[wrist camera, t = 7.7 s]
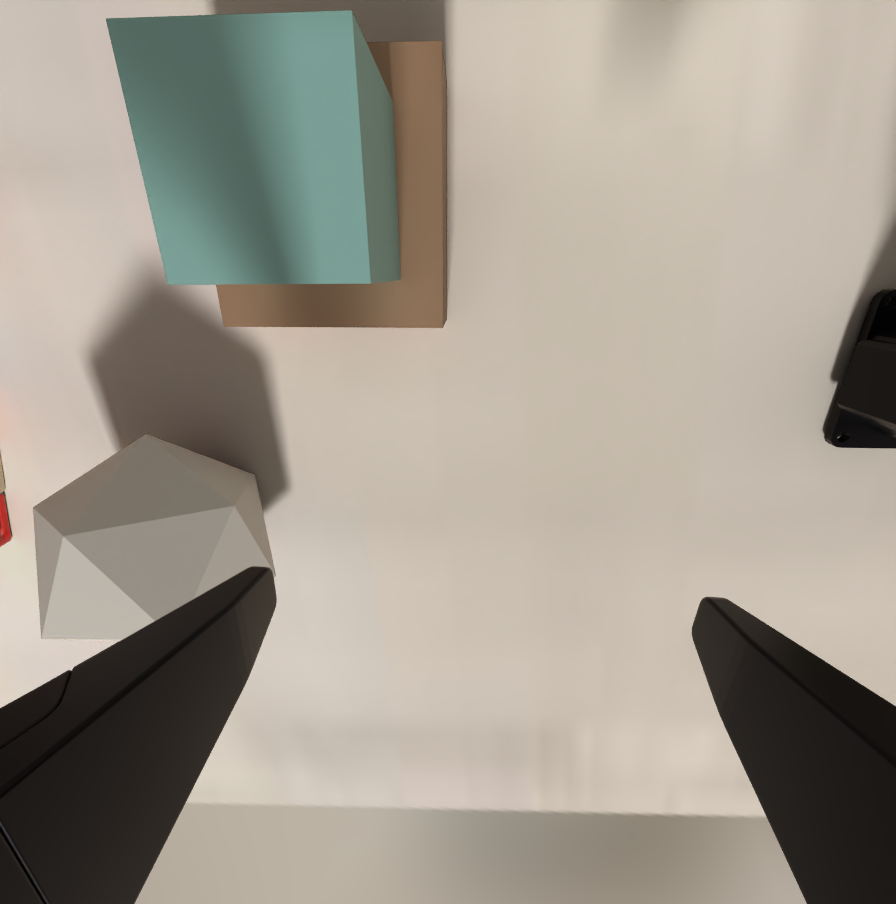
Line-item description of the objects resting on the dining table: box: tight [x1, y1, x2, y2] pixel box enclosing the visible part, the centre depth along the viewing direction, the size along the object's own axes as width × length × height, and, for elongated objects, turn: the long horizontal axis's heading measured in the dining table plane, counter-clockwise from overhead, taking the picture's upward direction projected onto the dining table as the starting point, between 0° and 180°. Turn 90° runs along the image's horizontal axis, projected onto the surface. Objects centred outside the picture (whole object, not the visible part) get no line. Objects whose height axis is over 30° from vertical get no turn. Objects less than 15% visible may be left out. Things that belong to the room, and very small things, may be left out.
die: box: [33, 434, 276, 642], centre depth 19 cm, size 8×9×10 cm
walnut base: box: [216, 41, 447, 328], centre depth 16 cm, size 8×8×3 cm
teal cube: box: [106, 10, 401, 285], centre depth 12 cm, size 5×5×5 cm
